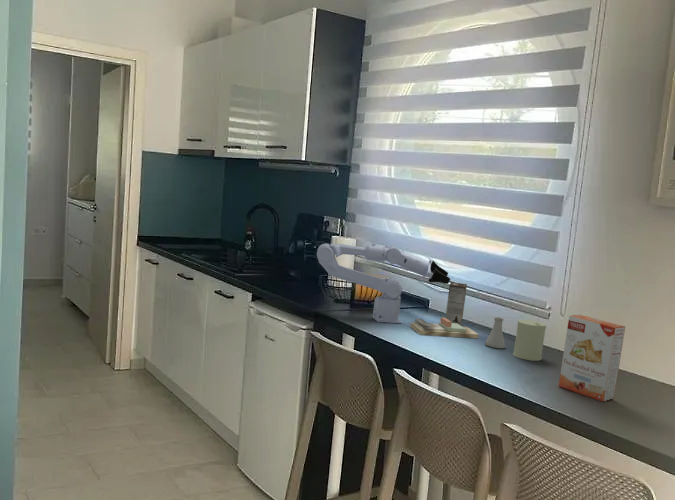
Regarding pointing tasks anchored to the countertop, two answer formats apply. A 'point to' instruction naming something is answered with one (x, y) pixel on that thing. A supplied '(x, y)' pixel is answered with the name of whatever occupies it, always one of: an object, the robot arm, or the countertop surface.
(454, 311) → the coffee box
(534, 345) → the can
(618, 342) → the cracker box
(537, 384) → the countertop surface
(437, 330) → the ticket board
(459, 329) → the stub
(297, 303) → the countertop surface
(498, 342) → the flask
